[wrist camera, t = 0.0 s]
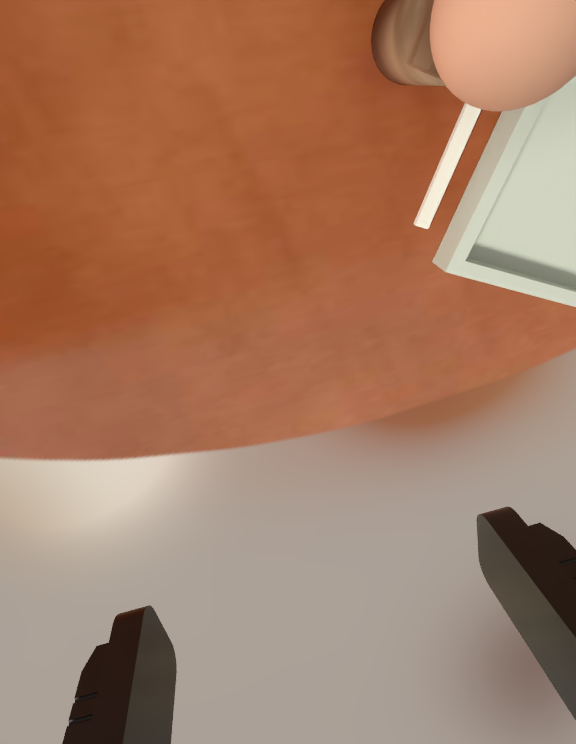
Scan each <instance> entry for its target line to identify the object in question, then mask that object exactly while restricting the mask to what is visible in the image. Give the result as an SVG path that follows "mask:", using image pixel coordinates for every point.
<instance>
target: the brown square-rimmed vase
mask: <svg viewBox="0 0 576 744" xmlns="http://www.w3.org/2000/svg"><path fill="white" fill-rule="evenodd" d="M433 3H434V0H385V1H384V2H383V4H382V5H381V7H380V9H379V11H378V13H377V15H376V18H375V21H374V24H373V29H372V38H371V43H372V53H373V57H374V60H375V62H376V65H377V67H378V68H379V70H380V71H381V73H382V74H383V75H384V76H385V77H386V78H387V79H389V80H390V81H392V82H394V83H397V84H401V85H428V86H446V85H445V84H444V82H443V81H442V79H441V78H440V76H439V74H438V72H437V70H436V67H435V64H434V61H433V57H432V52H431V45H430V21H431V13H432V8H433Z"/></svg>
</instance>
